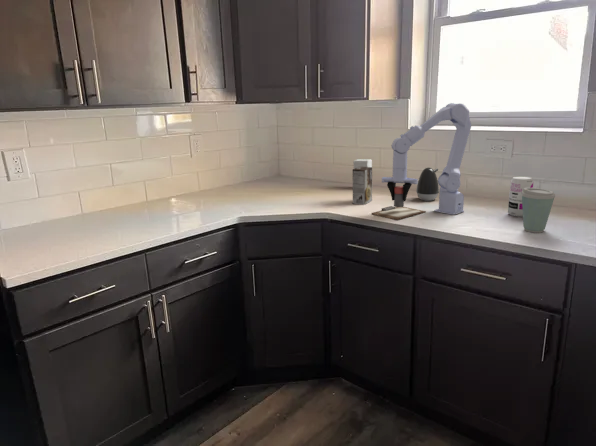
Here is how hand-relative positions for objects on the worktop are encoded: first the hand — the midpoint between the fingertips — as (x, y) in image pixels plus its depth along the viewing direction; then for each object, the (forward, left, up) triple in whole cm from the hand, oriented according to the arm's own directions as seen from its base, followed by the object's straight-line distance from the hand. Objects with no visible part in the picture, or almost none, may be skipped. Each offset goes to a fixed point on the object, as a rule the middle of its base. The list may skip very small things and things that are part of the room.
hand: (398, 200), depth 195 cm
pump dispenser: (+8, -30, -6) cm, 32 cm away
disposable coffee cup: (-50, -14, -6) cm, 52 cm away
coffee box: (+26, -5, -6) cm, 27 cm away
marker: (0, 0, -2) cm, 2 cm away
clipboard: (0, 0, -6) cm, 6 cm away
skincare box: (+49, -29, -6) cm, 57 cm away
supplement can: (-35, -32, -6) cm, 48 cm away
